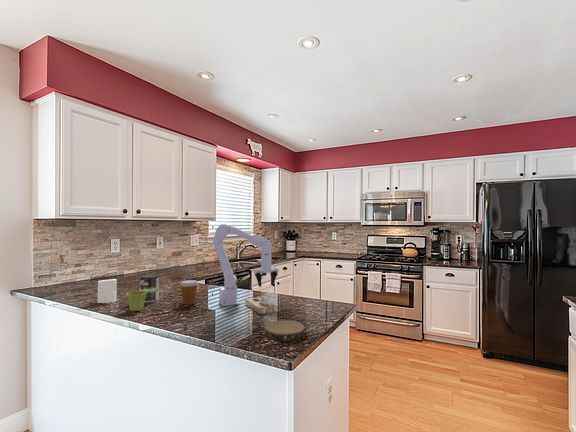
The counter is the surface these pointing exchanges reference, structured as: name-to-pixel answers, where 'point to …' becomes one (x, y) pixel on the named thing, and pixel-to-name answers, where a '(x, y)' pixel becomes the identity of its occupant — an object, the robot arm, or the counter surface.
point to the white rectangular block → (107, 291)
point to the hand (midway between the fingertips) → (266, 285)
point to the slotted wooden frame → (260, 306)
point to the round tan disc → (284, 330)
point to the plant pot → (136, 300)
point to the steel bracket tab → (264, 301)
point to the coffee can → (150, 287)
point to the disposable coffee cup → (189, 291)
